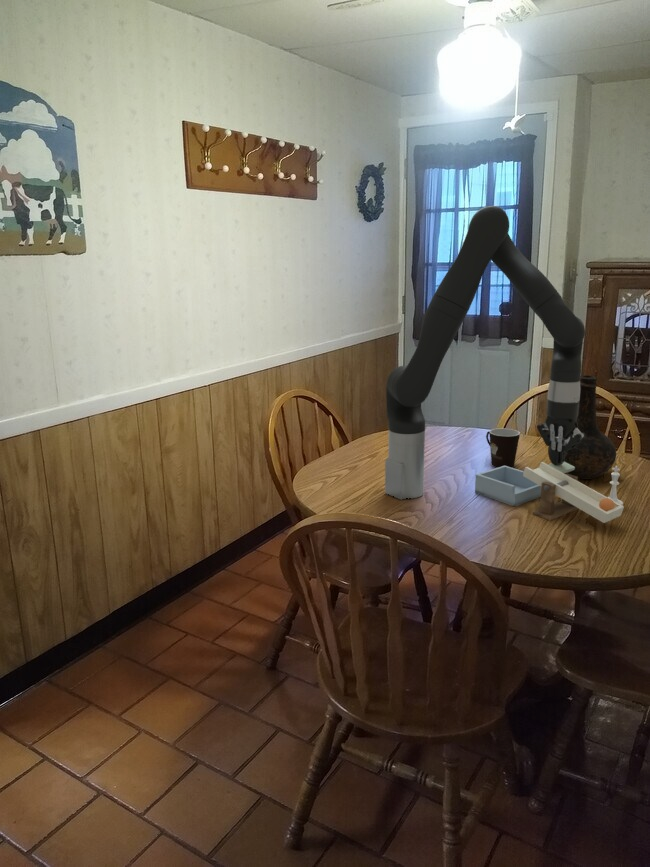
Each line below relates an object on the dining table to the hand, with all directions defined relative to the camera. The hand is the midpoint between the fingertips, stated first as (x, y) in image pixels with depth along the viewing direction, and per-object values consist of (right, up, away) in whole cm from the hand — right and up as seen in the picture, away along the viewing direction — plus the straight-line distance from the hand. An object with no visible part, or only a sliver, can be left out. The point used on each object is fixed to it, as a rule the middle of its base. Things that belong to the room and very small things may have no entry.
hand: (557, 464), depth 169 cm
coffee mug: (-7, -1, +27) cm, 28 cm away
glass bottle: (+12, -4, +17) cm, 21 cm away
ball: (+4, -8, -19) cm, 21 cm away
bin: (-12, -8, +3) cm, 14 cm away
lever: (+2, -6, -9) cm, 11 cm away
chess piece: (+12, -10, -5) cm, 16 cm away
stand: (-3, -11, -8) cm, 14 cm away
